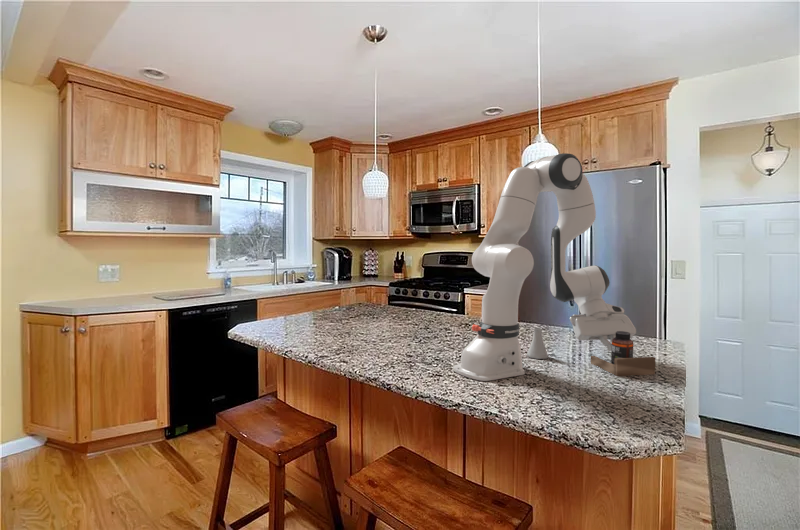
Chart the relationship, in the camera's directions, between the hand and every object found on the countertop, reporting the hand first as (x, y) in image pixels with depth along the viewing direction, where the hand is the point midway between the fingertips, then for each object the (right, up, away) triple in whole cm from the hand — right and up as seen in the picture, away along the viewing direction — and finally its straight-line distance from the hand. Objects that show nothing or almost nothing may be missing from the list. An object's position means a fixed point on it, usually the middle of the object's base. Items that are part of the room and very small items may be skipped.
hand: (614, 349), depth 127 cm
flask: (-22, -5, +10) cm, 24 cm away
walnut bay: (0, -5, -4) cm, 6 cm away
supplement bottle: (+1, -5, -3) cm, 6 cm away
